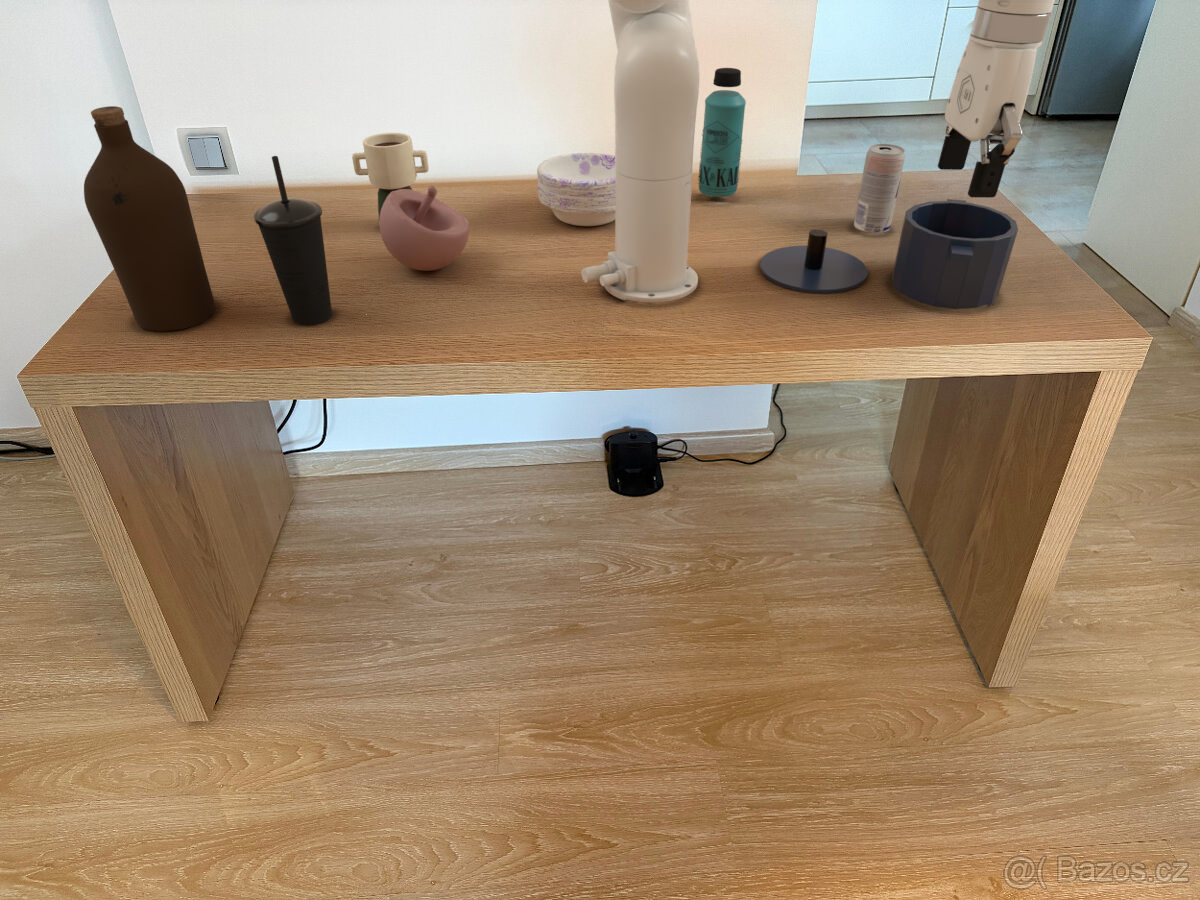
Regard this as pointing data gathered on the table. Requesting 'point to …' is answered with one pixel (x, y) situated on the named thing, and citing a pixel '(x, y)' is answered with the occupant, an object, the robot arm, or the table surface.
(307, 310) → the drinking cup
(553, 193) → the paper bowls
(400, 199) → the mortar and pestle
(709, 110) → the beverage bottle
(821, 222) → the table surface
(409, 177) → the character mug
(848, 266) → the lid
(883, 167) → the energy drink
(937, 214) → the pot
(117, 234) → the olive oil
